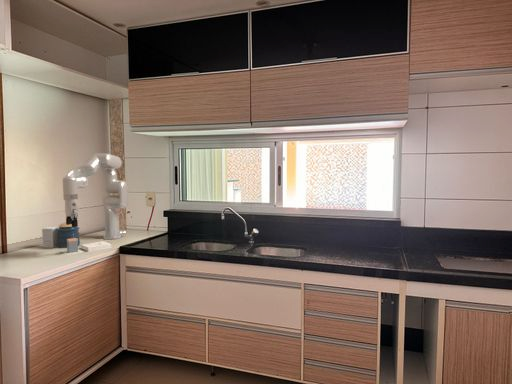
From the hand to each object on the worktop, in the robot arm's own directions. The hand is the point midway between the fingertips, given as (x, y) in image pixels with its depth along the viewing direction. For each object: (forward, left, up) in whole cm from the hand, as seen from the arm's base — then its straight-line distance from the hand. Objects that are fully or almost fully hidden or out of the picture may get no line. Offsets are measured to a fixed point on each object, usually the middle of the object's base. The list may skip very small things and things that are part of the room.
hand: (71, 225), depth 208 cm
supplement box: (+4, -28, -17) cm, 33 cm away
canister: (-4, -20, -17) cm, 26 cm away
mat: (0, 0, -17) cm, 17 cm away
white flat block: (-14, 0, -17) cm, 22 cm away
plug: (0, 0, -16) cm, 16 cm away
